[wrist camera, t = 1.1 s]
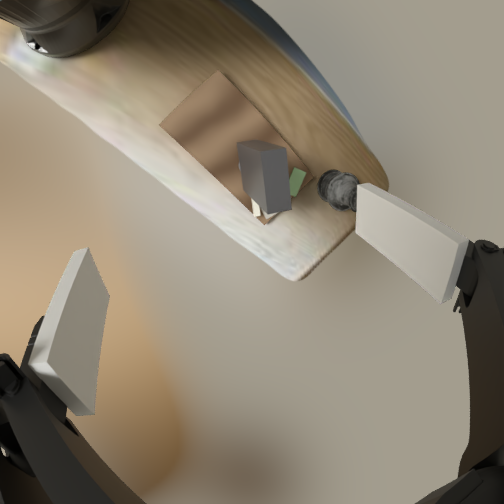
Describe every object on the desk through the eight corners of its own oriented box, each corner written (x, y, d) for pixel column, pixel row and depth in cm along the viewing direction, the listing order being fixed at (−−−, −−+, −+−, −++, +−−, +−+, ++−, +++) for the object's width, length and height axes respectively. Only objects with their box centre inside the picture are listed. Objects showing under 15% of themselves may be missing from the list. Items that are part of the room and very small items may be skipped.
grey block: (235, 142, 34) (259, 151, 26) (256, 139, 35) (287, 147, 26) (245, 216, 39) (270, 248, 30) (265, 211, 40) (294, 242, 31)
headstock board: (159, 124, 32) (158, 124, 31) (216, 71, 31) (218, 69, 30) (261, 221, 42) (264, 225, 41) (309, 174, 41) (314, 176, 40)
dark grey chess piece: (337, 160, 41) (388, 178, 31) (353, 188, 44) (402, 213, 34) (309, 183, 42) (354, 208, 31) (327, 211, 45) (372, 242, 34)
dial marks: (256, 211, 40) (256, 212, 39) (296, 163, 38) (297, 163, 38) (272, 223, 41) (272, 224, 41) (311, 177, 40) (311, 177, 39)
